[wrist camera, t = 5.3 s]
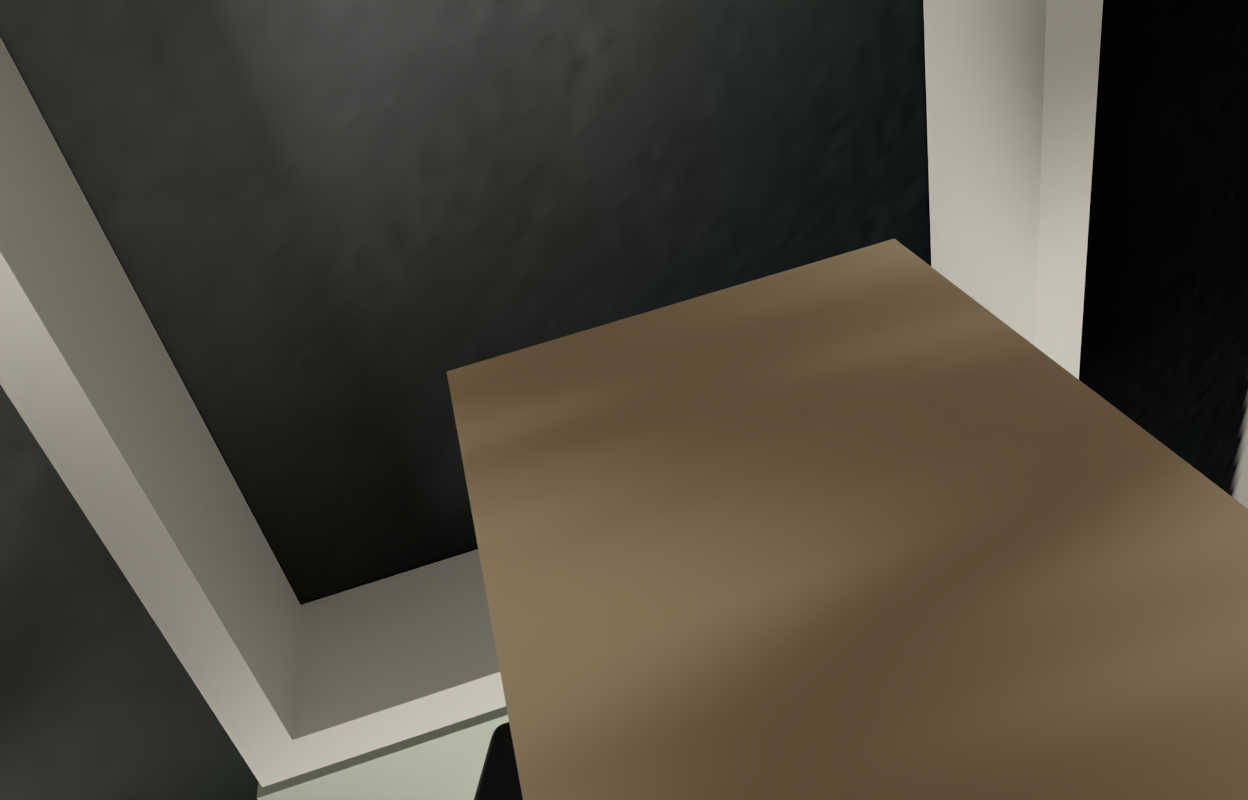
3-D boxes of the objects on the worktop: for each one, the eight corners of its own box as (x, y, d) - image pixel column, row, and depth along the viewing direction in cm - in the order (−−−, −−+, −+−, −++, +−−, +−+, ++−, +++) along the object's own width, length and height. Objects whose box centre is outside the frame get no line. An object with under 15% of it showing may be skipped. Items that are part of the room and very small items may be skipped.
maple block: (894, 238, 10) (2172, 1218, 3) (911, 572, 12) (1626, 1526, 5) (446, 370, 9) (717, 1894, 2) (558, 690, 12) (850, 1891, 5)
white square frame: (967, -509, 15) (1142, -602, 12) (972, 425, 25) (1069, 519, 22) (-232, -245, 14) (-423, -266, 10) (275, 647, 23) (262, 787, 20)
